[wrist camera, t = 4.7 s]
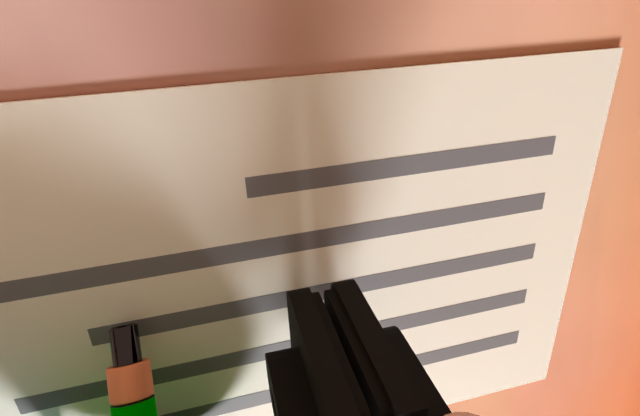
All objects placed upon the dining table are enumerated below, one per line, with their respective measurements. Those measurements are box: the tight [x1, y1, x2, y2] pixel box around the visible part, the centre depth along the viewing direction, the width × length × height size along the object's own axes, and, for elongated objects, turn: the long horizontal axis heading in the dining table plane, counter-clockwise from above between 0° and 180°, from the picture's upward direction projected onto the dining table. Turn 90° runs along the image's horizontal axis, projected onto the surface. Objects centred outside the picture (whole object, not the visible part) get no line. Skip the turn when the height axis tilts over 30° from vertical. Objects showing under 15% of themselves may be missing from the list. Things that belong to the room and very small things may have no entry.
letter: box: [0, 47, 623, 416], centre depth 12 cm, size 18×11×1 cm, turn 90°
